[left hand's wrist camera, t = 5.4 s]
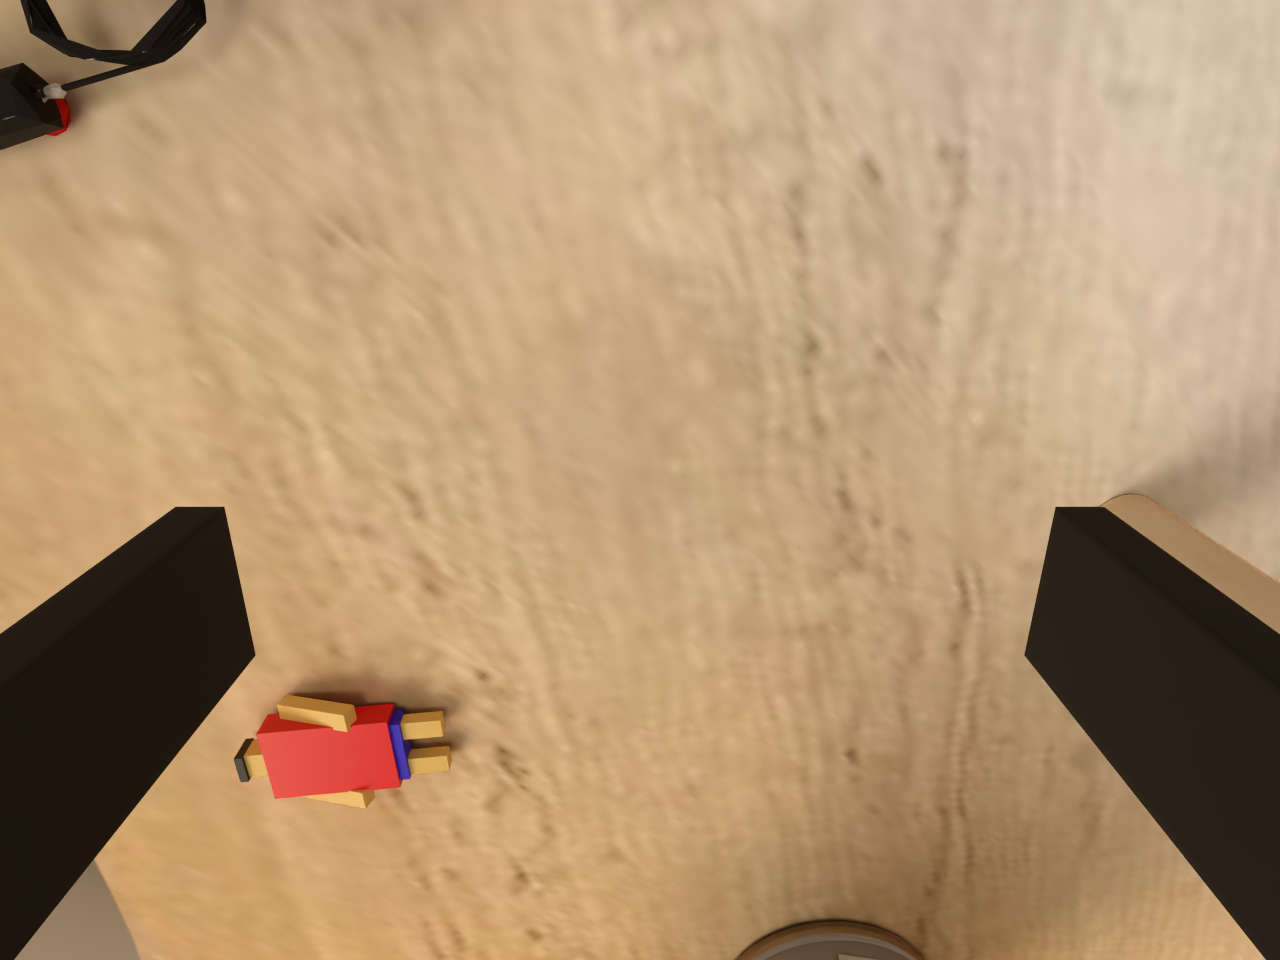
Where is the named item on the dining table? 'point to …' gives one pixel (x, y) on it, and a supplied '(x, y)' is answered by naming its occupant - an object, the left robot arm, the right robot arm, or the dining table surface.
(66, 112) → the electric hoist
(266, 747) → the toy figure
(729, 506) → the dining table surface
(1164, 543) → the bottle
